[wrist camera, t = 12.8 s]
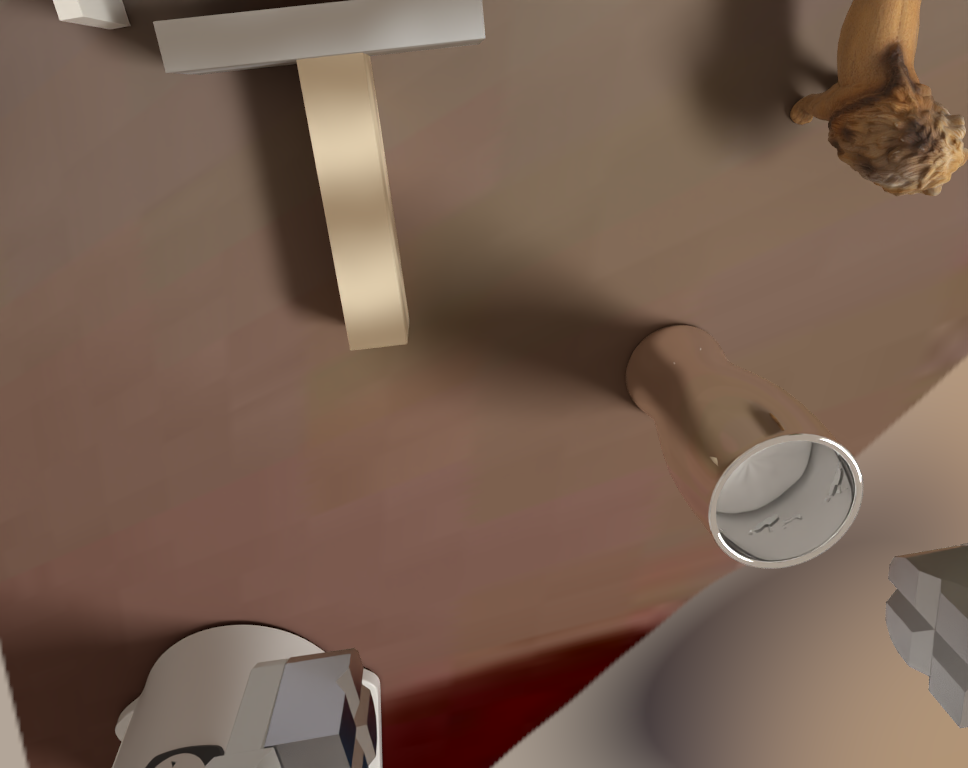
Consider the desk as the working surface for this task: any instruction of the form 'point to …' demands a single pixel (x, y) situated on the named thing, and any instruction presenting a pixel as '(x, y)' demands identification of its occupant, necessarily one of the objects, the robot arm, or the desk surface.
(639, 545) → the desk surface
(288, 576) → the desk surface
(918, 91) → the lion figurine
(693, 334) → the beer glass
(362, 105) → the scraper
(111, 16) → the box
